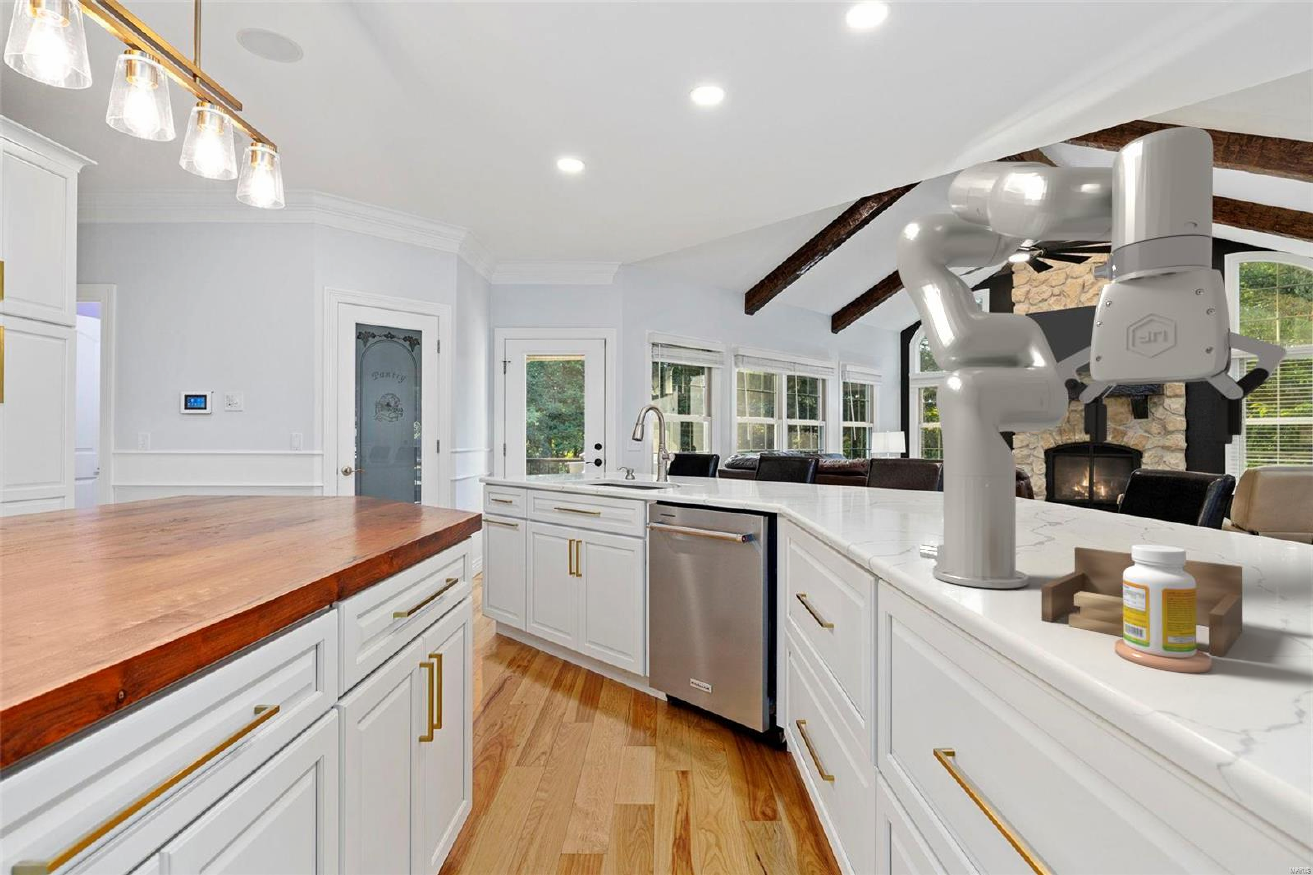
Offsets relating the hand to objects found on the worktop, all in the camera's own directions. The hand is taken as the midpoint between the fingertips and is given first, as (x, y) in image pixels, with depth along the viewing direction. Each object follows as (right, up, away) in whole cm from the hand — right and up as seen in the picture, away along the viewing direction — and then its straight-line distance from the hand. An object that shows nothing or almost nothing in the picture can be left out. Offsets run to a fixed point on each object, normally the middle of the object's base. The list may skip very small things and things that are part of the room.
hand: (1157, 442), depth 59 cm
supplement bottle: (-1, -20, -1) cm, 20 cm away
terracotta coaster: (-1, -21, -1) cm, 21 cm away
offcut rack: (+5, -21, +9) cm, 23 cm away
